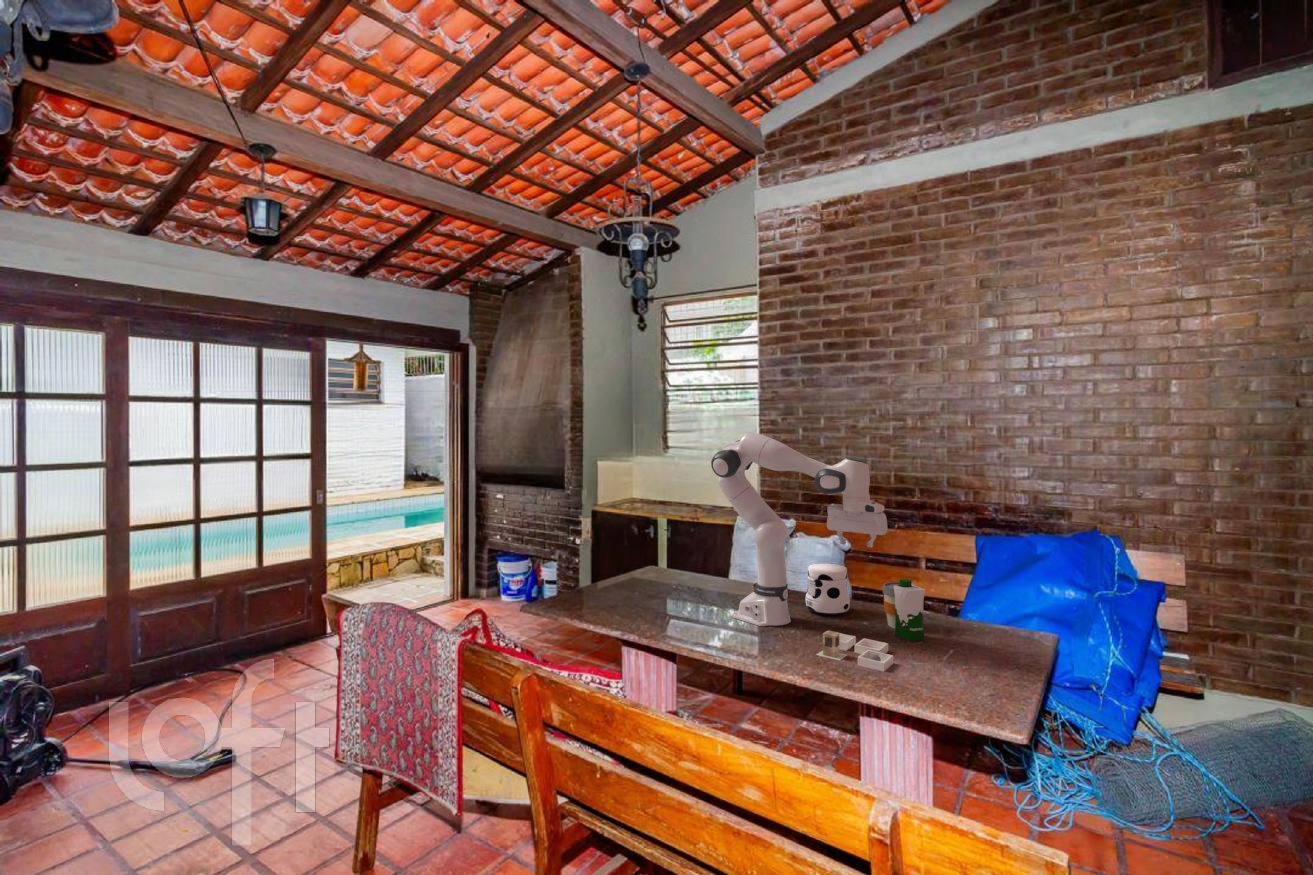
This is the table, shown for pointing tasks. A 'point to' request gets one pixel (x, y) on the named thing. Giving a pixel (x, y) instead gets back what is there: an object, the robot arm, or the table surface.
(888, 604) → the reusable coffee cup
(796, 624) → the table surface
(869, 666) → the white square open box
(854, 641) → the white open square tray
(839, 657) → the pad
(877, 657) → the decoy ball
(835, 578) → the milk container
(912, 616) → the milk carton
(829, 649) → the tan tall block
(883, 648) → the white square cubby
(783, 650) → the table surface
